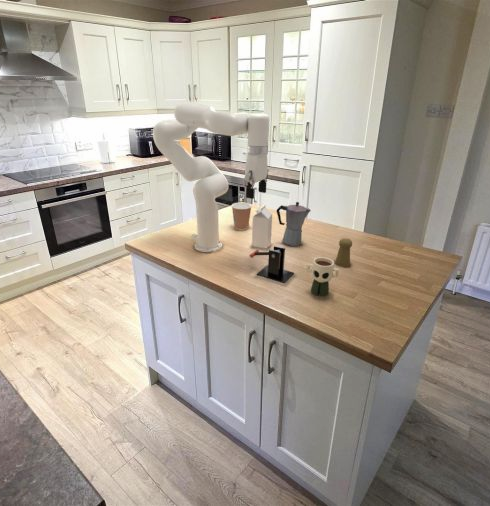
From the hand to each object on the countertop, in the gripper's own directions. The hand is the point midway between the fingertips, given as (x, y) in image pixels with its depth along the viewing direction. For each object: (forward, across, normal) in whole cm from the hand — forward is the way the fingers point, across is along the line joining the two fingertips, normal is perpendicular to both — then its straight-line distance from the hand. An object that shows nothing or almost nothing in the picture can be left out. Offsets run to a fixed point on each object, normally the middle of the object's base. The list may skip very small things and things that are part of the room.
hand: (256, 195), depth 136 cm
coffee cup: (+28, -29, -24) cm, 47 cm away
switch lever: (+21, +8, +10) cm, 24 cm away
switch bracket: (+28, +8, +14) cm, 33 cm away
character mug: (+28, +11, +33) cm, 45 cm away
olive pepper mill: (+28, -17, +33) cm, 47 cm away
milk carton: (+28, -14, -4) cm, 32 cm away
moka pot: (+28, -25, +6) cm, 38 cm away
